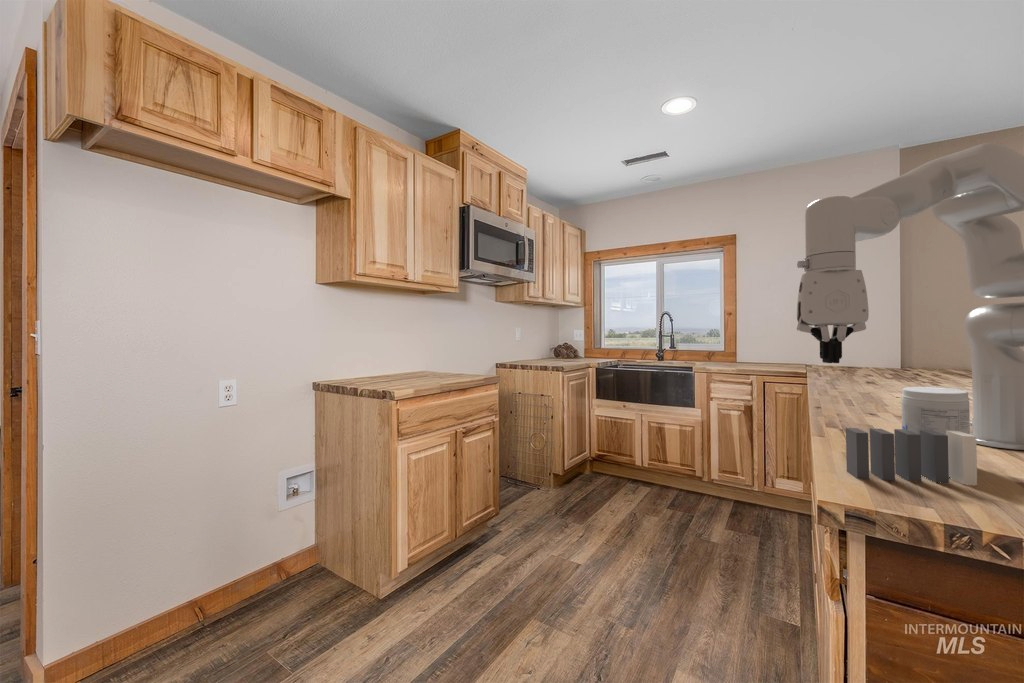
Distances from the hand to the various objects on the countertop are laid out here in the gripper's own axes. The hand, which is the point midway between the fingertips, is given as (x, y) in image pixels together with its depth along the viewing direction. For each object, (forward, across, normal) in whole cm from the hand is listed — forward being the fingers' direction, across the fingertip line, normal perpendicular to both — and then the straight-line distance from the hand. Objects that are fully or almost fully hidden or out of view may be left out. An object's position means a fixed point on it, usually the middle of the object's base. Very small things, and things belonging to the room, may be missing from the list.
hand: (830, 362), depth 79 cm
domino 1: (+21, +4, 0) cm, 21 cm away
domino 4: (+21, +16, 0) cm, 26 cm away
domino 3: (+21, +12, 0) cm, 24 cm away
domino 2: (+21, +8, 0) cm, 22 cm away
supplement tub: (+21, +22, +11) cm, 32 cm away
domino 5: (+21, +19, 0) cm, 28 cm away
